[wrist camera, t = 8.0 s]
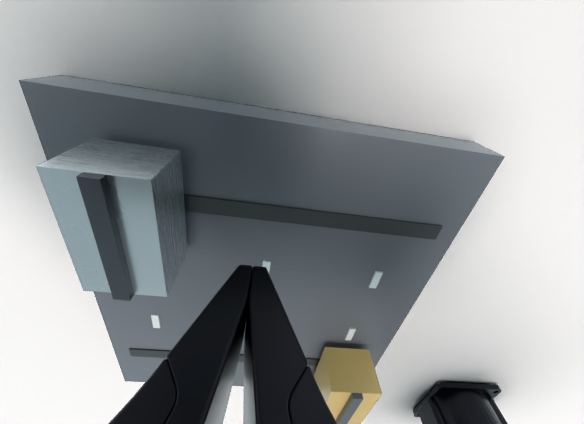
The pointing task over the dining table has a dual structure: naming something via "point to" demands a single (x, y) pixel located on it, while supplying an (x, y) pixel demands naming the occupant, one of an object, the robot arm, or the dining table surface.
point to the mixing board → (278, 211)
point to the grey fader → (120, 215)
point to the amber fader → (348, 383)
